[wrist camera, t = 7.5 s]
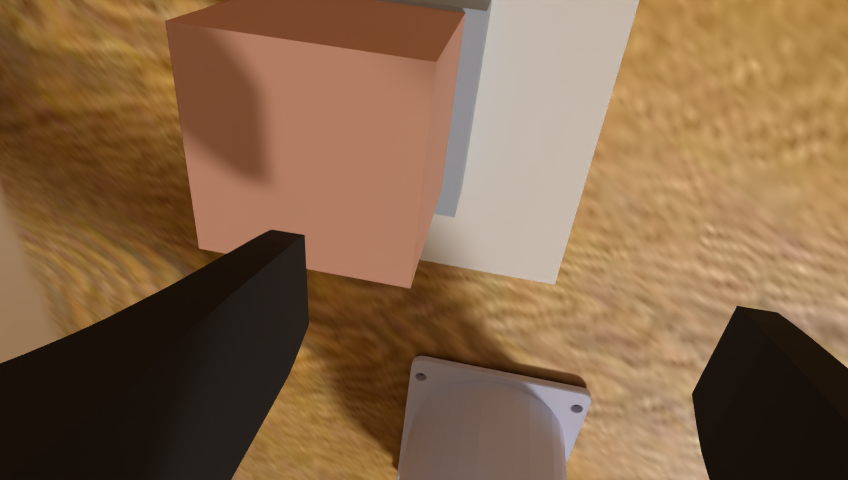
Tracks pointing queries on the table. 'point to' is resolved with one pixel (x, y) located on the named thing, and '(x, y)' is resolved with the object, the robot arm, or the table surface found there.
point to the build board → (532, 134)
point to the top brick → (318, 126)
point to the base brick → (461, 93)
